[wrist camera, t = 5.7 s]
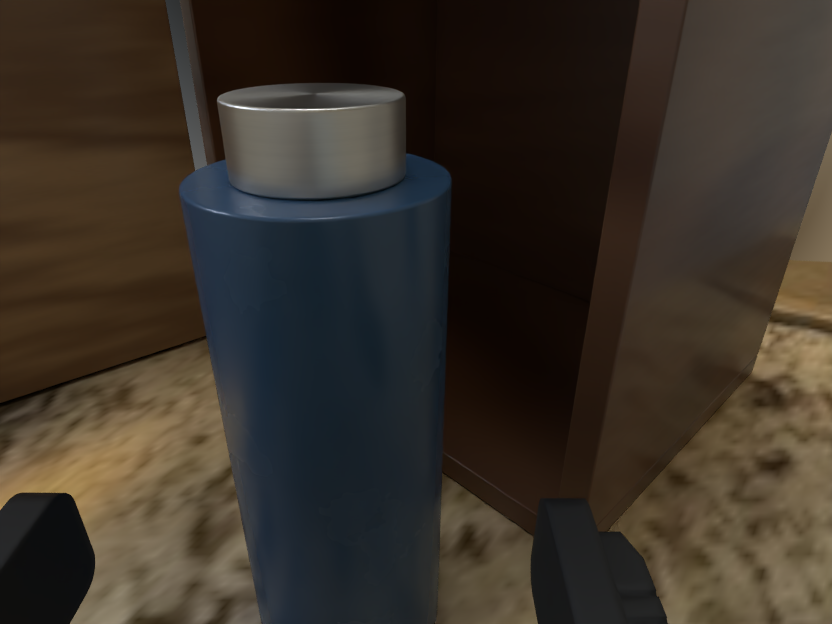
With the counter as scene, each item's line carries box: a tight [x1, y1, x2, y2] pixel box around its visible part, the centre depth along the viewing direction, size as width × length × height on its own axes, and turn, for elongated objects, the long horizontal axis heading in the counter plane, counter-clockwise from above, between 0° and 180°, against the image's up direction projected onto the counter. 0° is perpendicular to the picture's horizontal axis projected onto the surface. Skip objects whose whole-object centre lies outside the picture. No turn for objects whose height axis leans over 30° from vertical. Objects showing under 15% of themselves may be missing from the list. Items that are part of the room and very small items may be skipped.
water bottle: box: [179, 83, 452, 624], centre depth 14 cm, size 5×5×14 cm
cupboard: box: [180, 0, 832, 536], centre depth 25 cm, size 16×22×24 cm
